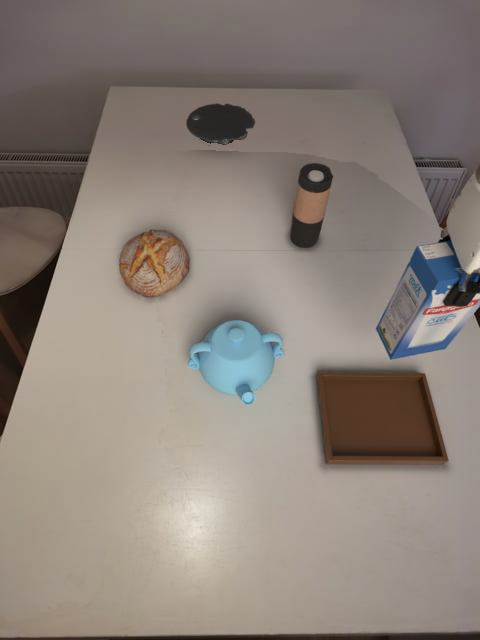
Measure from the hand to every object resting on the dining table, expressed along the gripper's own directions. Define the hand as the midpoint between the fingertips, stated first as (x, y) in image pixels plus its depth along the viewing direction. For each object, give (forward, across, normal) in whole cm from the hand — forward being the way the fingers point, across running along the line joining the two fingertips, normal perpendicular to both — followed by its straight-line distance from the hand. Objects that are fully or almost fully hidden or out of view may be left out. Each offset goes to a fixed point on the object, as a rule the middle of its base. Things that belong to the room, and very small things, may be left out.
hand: (447, 281), depth 60 cm
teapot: (+34, +2, +29) cm, 45 cm away
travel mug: (+34, +42, +13) cm, 55 cm away
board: (+34, +87, +36) cm, 100 cm away
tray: (+34, -7, +2) cm, 35 cm away
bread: (+34, +30, +50) cm, 67 cm away
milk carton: (+15, 0, 0) cm, 15 cm away
